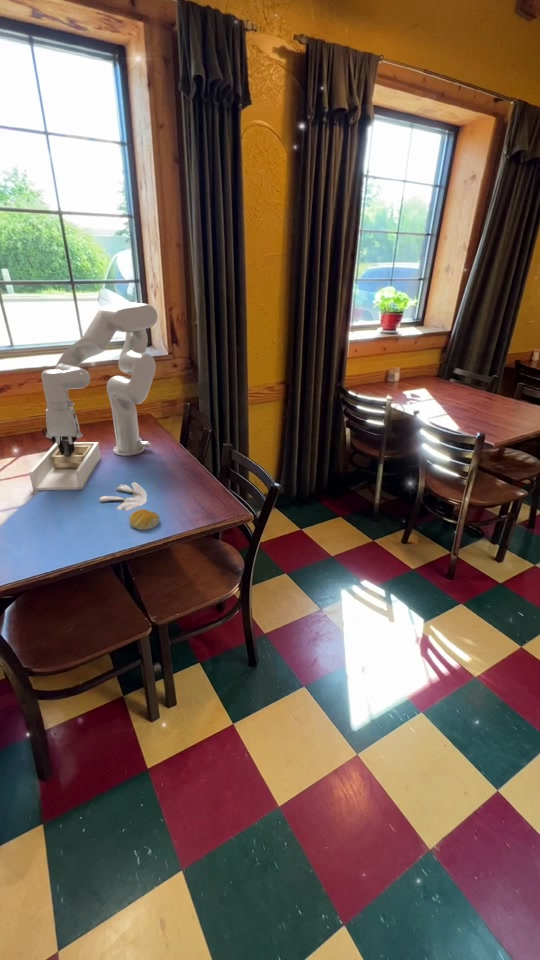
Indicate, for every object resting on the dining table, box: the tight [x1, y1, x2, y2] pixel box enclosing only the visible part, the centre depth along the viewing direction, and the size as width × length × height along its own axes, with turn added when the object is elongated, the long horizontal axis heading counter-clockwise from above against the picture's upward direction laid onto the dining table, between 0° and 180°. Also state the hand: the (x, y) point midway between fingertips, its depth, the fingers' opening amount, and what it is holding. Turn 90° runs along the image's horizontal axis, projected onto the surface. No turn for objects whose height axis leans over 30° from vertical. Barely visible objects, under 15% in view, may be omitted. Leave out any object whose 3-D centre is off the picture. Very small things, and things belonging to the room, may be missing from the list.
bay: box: [28, 441, 102, 491], centre depth 165 cm, size 16×28×7 cm, turn 6°
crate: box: [51, 440, 92, 469], centre depth 169 cm, size 12×12×11 cm
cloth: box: [99, 481, 148, 512], centre depth 152 cm, size 20×22×2 cm
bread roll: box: [128, 508, 160, 531], centre depth 136 cm, size 8×9×4 cm
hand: (67, 452), depth 165 cm, fingers closed on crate, 2 cm apart
